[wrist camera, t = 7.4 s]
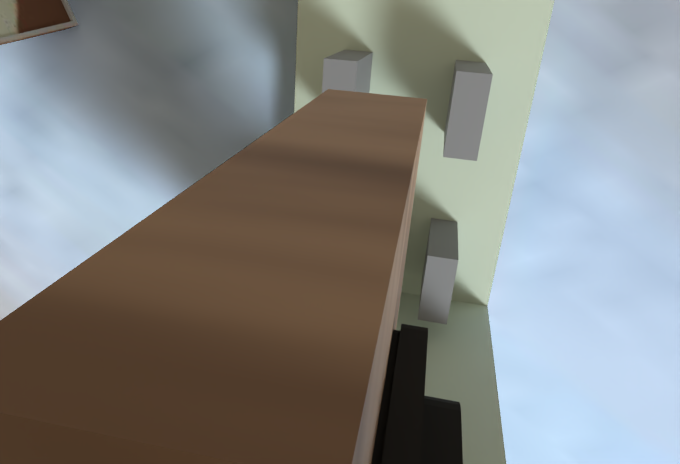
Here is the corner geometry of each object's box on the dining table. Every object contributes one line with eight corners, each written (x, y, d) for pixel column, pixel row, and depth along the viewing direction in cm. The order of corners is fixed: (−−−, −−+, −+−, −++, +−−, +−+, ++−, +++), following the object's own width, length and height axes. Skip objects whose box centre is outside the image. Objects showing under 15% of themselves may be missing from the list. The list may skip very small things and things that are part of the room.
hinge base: (307, -19, 22) (-30, -74, 7) (547, -1, 21) (841, -20, 5) (295, 283, 29) (105, 622, 13) (480, 312, 27) (520, 738, 11)
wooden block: (304, 86, 13) (-196, 371, 3) (427, 98, 12) (348, 485, 2) (292, 402, 17) (70, 970, 7) (383, 419, 16) (288, 1051, 6)
